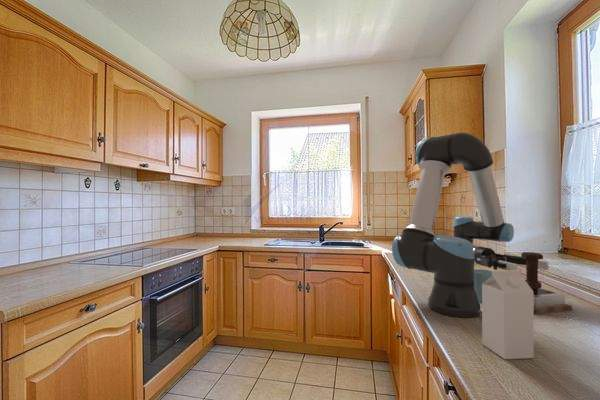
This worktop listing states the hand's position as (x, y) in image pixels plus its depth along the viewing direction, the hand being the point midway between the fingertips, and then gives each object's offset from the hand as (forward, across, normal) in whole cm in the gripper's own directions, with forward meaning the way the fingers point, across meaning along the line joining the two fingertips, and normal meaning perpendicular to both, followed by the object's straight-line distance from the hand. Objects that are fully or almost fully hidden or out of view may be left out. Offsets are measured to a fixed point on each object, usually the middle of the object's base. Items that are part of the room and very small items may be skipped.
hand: (532, 267), depth 101 cm
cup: (-6, +14, -13) cm, 20 cm away
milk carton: (+24, +37, -13) cm, 46 cm away
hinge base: (0, 0, -13) cm, 13 cm away
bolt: (0, 0, -10) cm, 10 cm away
